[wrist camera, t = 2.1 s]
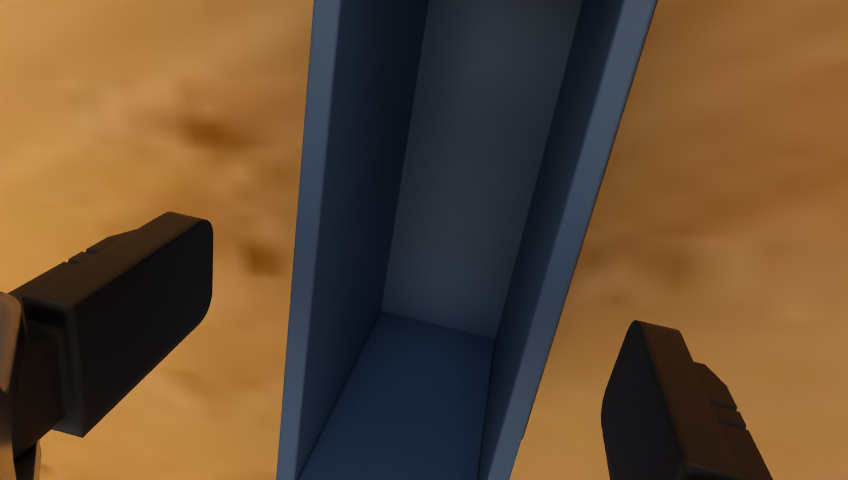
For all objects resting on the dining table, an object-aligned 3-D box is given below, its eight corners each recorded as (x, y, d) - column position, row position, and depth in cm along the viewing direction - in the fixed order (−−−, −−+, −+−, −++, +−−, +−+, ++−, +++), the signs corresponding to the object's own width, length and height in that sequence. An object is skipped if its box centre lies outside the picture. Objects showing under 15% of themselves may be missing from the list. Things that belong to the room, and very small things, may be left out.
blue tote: (427, -73, 18) (323, -136, 9) (609, -41, 17) (681, -77, 9) (370, 312, 24) (273, 494, 15) (505, 345, 23) (486, 553, 14)
